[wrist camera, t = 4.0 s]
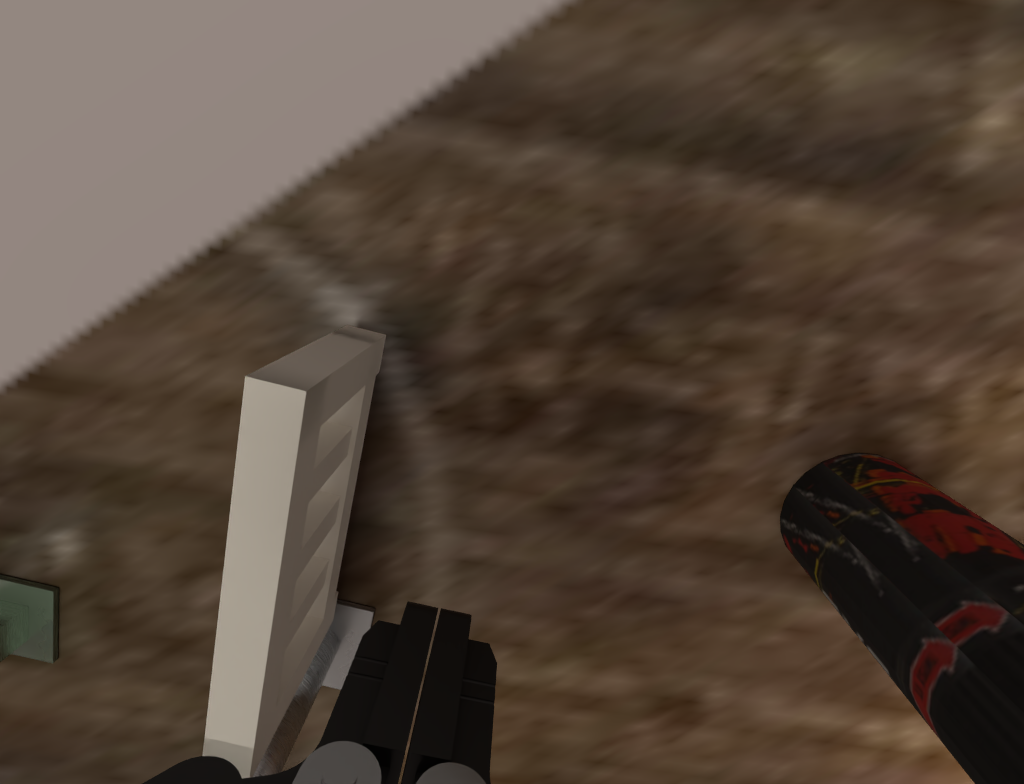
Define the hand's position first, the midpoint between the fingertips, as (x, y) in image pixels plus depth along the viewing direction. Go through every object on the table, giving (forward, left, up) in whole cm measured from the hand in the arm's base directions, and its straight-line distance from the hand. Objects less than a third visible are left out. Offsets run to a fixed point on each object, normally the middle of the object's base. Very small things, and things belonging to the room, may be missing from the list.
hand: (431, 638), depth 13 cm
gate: (+5, +3, -11) cm, 13 cm away
